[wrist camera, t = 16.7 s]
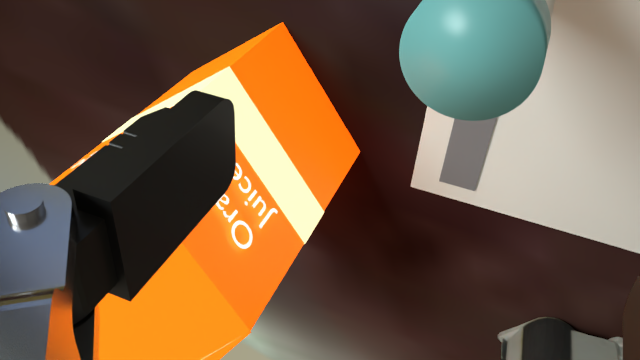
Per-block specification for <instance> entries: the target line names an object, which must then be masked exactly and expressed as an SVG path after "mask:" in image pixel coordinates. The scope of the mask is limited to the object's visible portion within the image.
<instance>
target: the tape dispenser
mask: <svg viewBox="0 0 640 360" xmlns="http://www.w3.org/2000/svg"><path fill="white" fill-rule="evenodd" d="M498 339H499V340H500V341H501V342H502V344H501V358H502V359H501V360H623V338H621V337H614V338H610V339H608V340H605V339H602V338H598V337H594V336H590V335H587V334H584V333H580V332H577V331H575V330H574V329H573V328H572V327H571V326H570V325H569V324H567V323H566V322H564V321H562V320H560V319H558V318H551V317H541V318H537V319H534V320H532V321H529V322H526V323H524V324H522V325H519V326H516V327H514V328H511V329H508V330H506V331H503V332H500V333H499V334H498Z"/></svg>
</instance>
